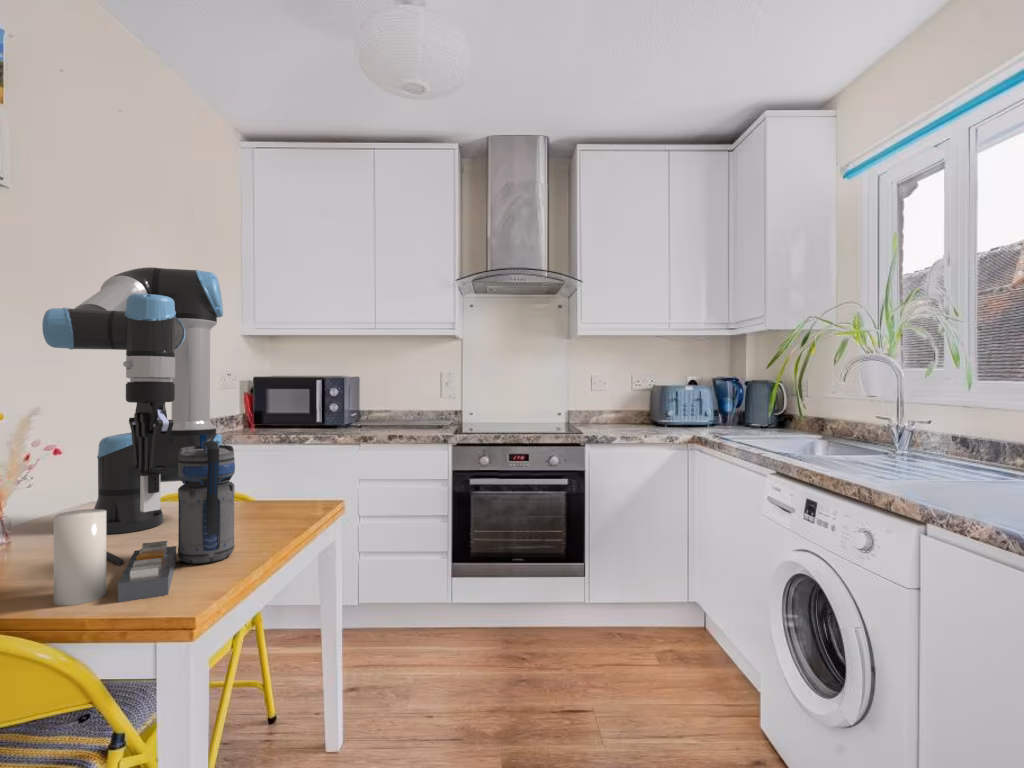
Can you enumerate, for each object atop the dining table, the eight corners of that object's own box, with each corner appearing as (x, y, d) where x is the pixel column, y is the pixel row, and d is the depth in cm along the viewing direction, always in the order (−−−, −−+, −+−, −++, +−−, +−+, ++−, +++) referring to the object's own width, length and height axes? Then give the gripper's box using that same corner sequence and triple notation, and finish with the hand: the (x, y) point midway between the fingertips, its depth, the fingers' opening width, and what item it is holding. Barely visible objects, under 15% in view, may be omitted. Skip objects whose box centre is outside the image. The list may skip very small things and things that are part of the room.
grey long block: (134, 568, 110) (134, 542, 110) (176, 563, 113) (176, 538, 113) (117, 605, 92) (118, 574, 92) (168, 597, 95) (168, 568, 95)
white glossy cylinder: (47, 599, 93) (47, 514, 93) (97, 586, 99) (97, 507, 99) (61, 609, 89) (61, 521, 89) (113, 595, 95) (113, 512, 95)
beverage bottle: (183, 573, 106) (184, 440, 106) (174, 555, 117) (174, 434, 117) (242, 562, 113) (242, 437, 112) (227, 547, 123) (228, 432, 123)
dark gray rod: (96, 555, 117) (96, 549, 117) (103, 553, 118) (103, 548, 118) (117, 566, 110) (117, 559, 110) (124, 564, 111) (124, 558, 111)
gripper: (112, 380, 103) (112, 509, 103) (142, 380, 96) (142, 519, 96) (157, 380, 109) (157, 502, 109) (189, 380, 102) (188, 511, 102)
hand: (150, 510), depth 103 cm, fingers closed
